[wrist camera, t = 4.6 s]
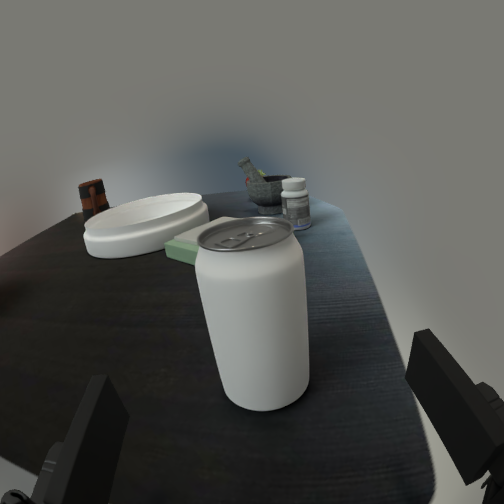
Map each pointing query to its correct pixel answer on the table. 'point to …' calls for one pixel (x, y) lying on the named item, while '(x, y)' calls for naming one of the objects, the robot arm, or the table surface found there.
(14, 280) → the table surface
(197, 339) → the table surface
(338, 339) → the table surface
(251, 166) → the mortar and pestle
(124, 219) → the white round shallow dish
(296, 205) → the pill bottle
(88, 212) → the mug
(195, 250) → the kitchen scale
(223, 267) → the can
